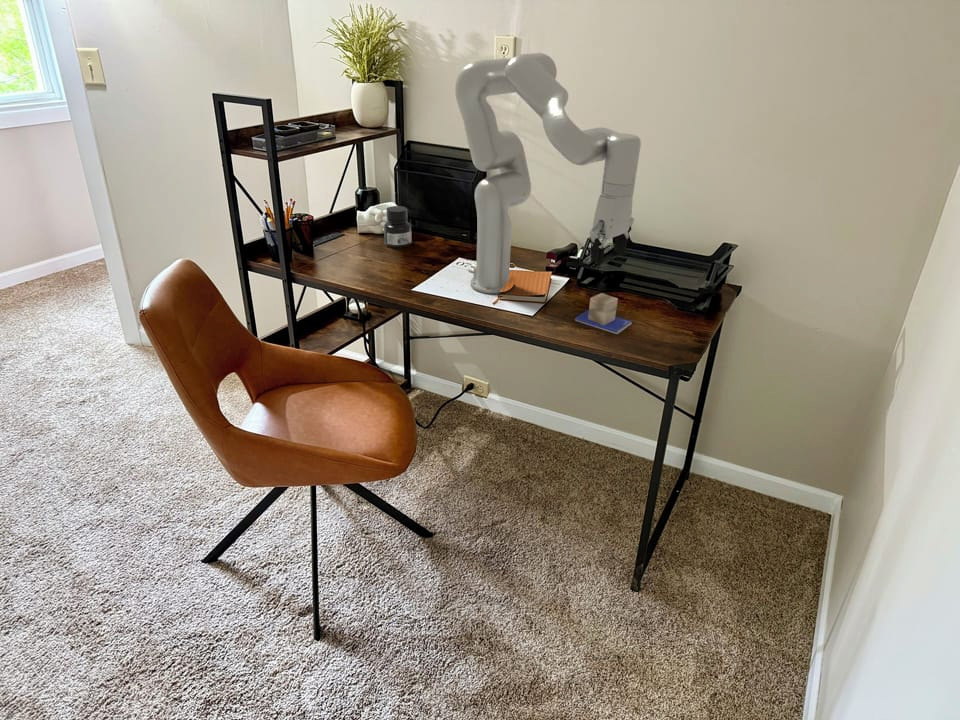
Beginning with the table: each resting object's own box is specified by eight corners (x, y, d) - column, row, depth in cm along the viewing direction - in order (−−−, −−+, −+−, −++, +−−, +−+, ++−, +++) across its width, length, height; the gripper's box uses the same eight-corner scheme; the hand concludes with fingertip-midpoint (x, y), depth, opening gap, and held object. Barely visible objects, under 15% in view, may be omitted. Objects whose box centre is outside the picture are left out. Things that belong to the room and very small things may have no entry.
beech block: (587, 319, 174) (590, 298, 171) (599, 313, 178) (601, 292, 175) (603, 325, 171) (606, 304, 168) (614, 319, 175) (617, 298, 172)
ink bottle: (388, 250, 218) (386, 214, 213) (380, 241, 225) (378, 206, 220) (416, 246, 222) (415, 211, 216) (407, 238, 229) (406, 203, 223)
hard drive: (632, 320, 174) (590, 308, 181) (617, 331, 168) (574, 317, 175) (631, 326, 175) (589, 313, 181) (616, 336, 169) (574, 323, 176)
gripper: (624, 180, 166) (615, 246, 174) (583, 191, 154) (575, 261, 163) (650, 186, 161) (639, 253, 169) (610, 198, 150) (600, 270, 158)
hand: (608, 257), depth 166 cm, fingers open, 9 cm apart
